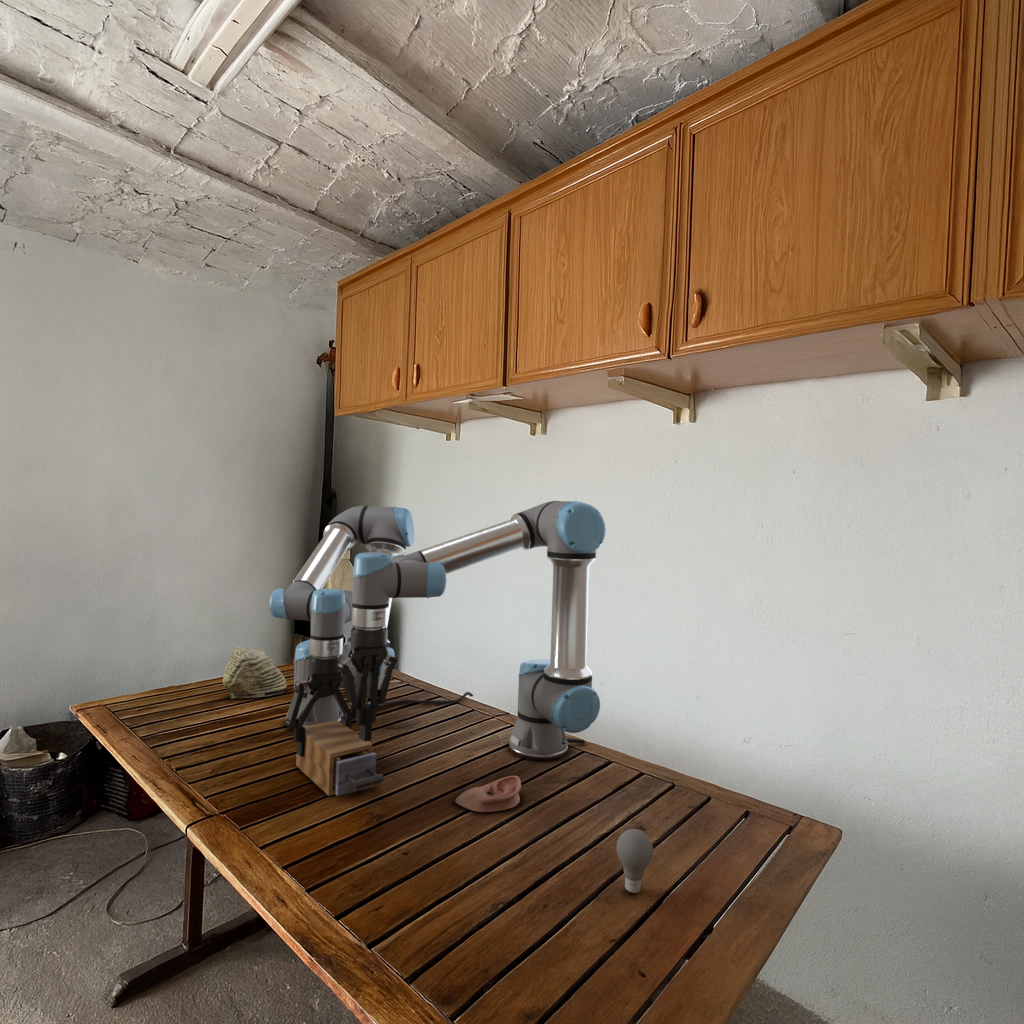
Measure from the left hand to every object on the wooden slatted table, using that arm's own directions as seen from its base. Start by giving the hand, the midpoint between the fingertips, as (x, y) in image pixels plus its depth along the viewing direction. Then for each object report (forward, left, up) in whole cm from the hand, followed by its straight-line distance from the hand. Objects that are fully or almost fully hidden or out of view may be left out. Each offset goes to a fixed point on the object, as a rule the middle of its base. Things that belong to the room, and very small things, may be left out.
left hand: (322, 749), depth 149 cm
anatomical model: (-14, +40, -4) cm, 42 cm away
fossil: (-16, -59, -4) cm, 61 cm away
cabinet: (+1, +6, -4) cm, 7 cm away
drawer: (+2, +12, -3) cm, 13 cm away
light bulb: (-7, +78, -4) cm, 78 cm away
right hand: (+4, +21, +9) cm, 23 cm away
